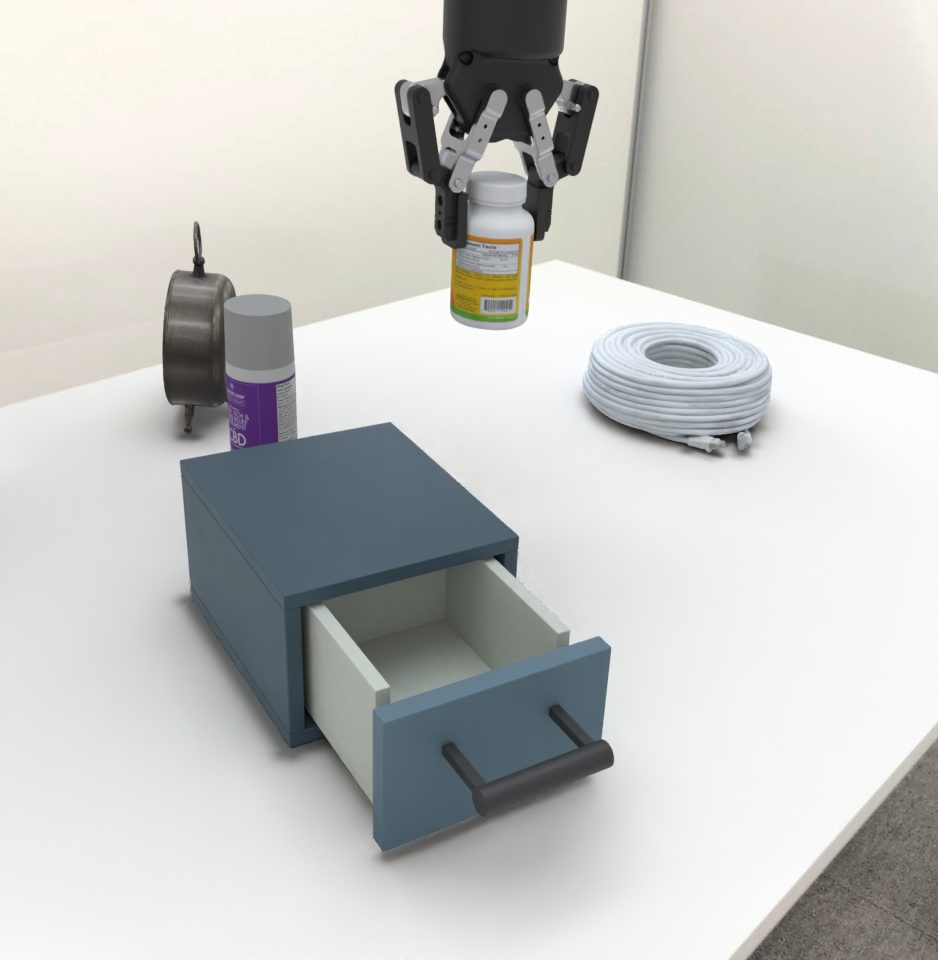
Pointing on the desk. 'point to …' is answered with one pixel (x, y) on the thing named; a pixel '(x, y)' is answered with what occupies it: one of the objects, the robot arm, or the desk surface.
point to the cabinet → (318, 542)
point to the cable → (679, 382)
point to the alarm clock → (195, 336)
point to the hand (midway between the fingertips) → (492, 240)
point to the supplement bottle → (494, 254)
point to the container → (260, 370)
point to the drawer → (453, 696)
